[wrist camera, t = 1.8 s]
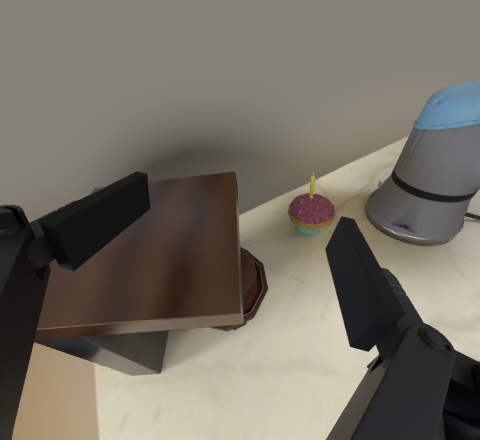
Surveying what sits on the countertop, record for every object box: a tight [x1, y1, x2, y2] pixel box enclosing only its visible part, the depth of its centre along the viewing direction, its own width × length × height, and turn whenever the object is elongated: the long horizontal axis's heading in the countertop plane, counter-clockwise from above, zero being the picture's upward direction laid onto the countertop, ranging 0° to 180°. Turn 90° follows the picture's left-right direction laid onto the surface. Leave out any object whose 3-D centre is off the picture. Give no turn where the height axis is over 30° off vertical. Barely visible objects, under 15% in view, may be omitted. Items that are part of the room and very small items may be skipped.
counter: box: [34, 172, 244, 376], centre depth 25 cm, size 17×16×20 cm
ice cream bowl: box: [210, 247, 268, 331], centre depth 27 cm, size 11×11×15 cm
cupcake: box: [288, 172, 335, 235], centre depth 39 cm, size 9×8×12 cm
